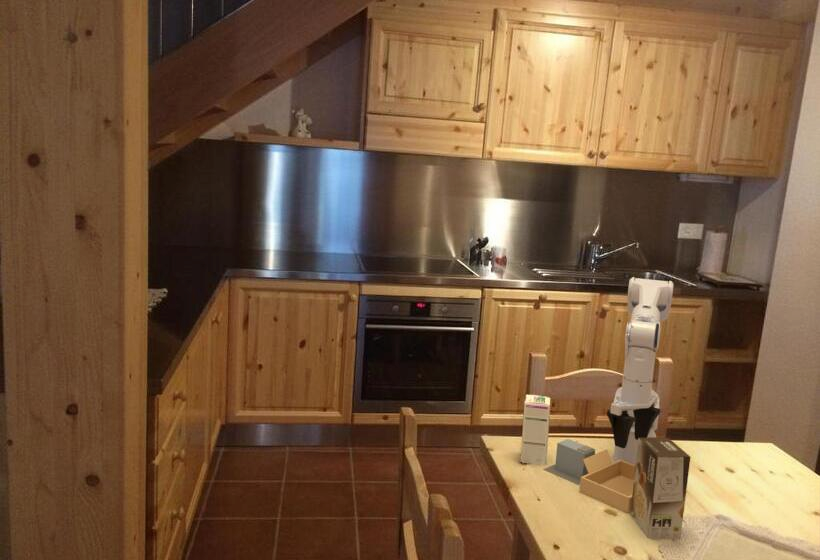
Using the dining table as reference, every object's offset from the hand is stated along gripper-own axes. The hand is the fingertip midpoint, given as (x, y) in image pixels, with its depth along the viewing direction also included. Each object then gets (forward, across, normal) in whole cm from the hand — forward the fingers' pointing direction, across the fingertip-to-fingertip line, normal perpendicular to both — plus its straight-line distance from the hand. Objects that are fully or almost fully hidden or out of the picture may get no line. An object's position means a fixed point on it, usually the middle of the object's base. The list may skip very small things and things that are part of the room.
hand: (630, 443), depth 141 cm
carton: (+10, +1, 0) cm, 10 cm away
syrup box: (+10, +4, -21) cm, 24 cm away
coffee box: (+11, +9, +12) cm, 18 cm away
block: (+10, +2, -11) cm, 15 cm away
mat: (+10, +2, -12) cm, 16 cm away
